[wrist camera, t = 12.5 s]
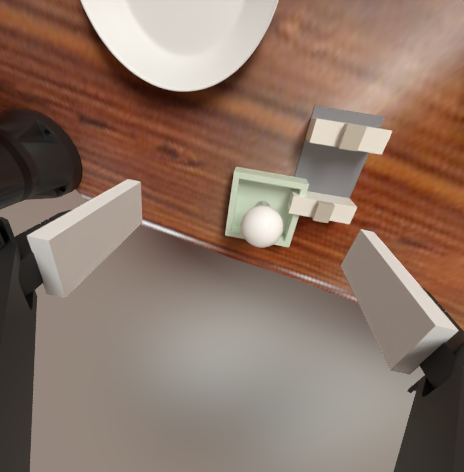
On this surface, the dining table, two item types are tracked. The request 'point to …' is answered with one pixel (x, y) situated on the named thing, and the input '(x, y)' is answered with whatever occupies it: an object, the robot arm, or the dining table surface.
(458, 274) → the dining table surface
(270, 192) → the tray
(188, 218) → the dining table surface
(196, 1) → the bowl
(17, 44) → the dining table surface
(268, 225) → the lightbulb
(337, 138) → the holder
